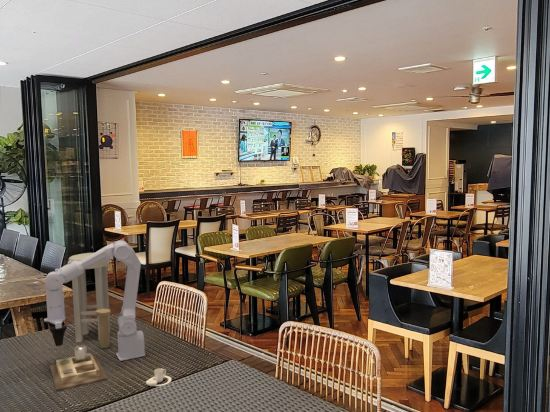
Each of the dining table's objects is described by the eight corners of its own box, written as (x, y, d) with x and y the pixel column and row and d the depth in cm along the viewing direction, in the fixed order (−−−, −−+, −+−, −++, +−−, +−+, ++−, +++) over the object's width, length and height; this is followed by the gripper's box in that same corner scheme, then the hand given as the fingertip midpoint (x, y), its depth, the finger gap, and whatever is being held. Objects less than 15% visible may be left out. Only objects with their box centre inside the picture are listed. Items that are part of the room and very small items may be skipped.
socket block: (96, 357, 185) (95, 349, 184) (107, 379, 166) (106, 370, 165) (49, 366, 177) (49, 358, 177) (56, 391, 158) (55, 381, 158)
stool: (80, 331, 214) (75, 253, 211) (116, 329, 216) (112, 251, 212) (69, 344, 199) (63, 260, 195) (108, 342, 200) (103, 258, 197)
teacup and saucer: (147, 390, 158) (147, 378, 158) (142, 380, 166) (142, 369, 165) (174, 384, 162) (173, 372, 162) (168, 374, 169) (167, 363, 169)
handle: (104, 350, 191) (102, 313, 190) (95, 347, 195) (93, 310, 194) (115, 346, 195) (113, 310, 194) (105, 343, 199) (103, 307, 197)
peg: (86, 362, 179) (85, 344, 178) (88, 366, 175) (87, 347, 175) (74, 364, 177) (73, 346, 176) (76, 368, 173) (75, 349, 173)
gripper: (41, 302, 179) (44, 338, 180) (45, 312, 166) (47, 350, 168) (62, 299, 182) (64, 334, 184) (67, 309, 170) (69, 346, 171)
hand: (57, 342), depth 176 cm, fingers open, 7 cm apart
